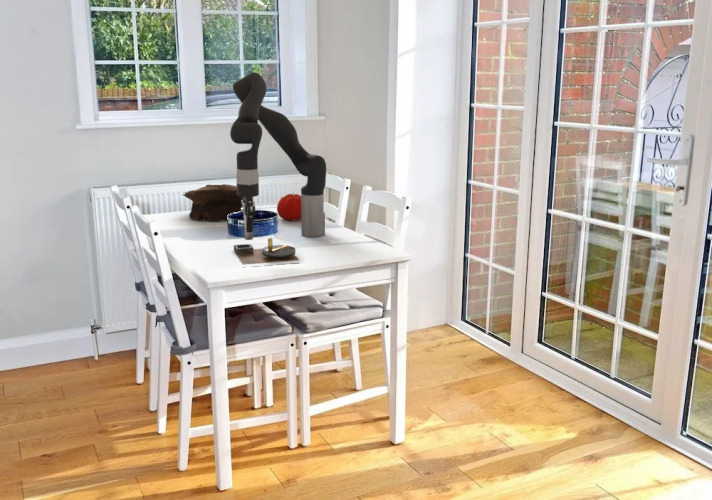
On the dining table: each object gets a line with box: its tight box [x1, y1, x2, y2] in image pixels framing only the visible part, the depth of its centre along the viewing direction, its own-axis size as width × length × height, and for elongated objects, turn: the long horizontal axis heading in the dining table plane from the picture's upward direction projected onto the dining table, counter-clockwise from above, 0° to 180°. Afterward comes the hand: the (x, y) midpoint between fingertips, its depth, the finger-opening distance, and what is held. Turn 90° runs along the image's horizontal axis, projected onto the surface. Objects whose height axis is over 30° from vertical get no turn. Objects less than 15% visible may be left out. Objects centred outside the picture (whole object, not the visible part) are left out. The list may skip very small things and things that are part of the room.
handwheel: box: [261, 237, 296, 258], centre depth 254 cm, size 12×12×6 cm
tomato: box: [276, 192, 301, 222], centre depth 321 cm, size 13×14×12 cm
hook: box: [241, 208, 254, 241], centre depth 246 cm, size 5×3×11 cm, turn 108°
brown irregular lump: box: [182, 183, 243, 222], centre depth 330 cm, size 34×33×15 cm
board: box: [233, 243, 300, 268], centre depth 257 cm, size 20×20×3 cm
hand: (248, 230), depth 246 cm, fingers closed on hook, 2 cm apart
